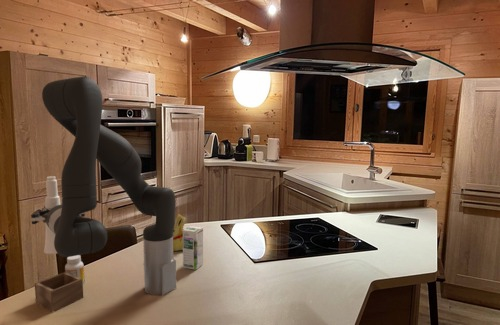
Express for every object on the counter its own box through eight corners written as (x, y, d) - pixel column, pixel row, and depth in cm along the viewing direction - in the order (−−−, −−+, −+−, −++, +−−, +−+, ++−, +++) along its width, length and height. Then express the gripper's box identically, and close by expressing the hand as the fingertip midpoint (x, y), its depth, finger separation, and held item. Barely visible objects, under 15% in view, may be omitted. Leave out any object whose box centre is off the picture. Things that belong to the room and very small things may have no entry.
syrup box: (182, 268, 130) (181, 229, 128) (190, 261, 135) (190, 225, 133) (196, 270, 128) (195, 231, 126) (203, 264, 133) (203, 227, 132)
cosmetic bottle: (45, 256, 100) (40, 179, 97) (42, 249, 105) (37, 176, 102) (69, 251, 103) (64, 177, 101) (65, 245, 108) (61, 174, 106)
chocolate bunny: (164, 249, 148) (163, 214, 146) (190, 245, 152) (189, 211, 150) (168, 255, 142) (167, 219, 140) (194, 251, 146) (194, 215, 144)
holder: (83, 297, 108) (82, 279, 107) (53, 311, 100) (52, 291, 99) (65, 289, 113) (64, 271, 112) (35, 302, 105) (34, 283, 104)
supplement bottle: (79, 280, 119) (78, 252, 118) (87, 285, 116) (86, 256, 115) (63, 285, 115) (61, 257, 114) (70, 291, 112) (69, 261, 111)
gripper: (93, 203, 96) (77, 193, 109) (32, 211, 87) (23, 199, 100) (94, 230, 96) (78, 216, 110) (34, 241, 88) (25, 225, 101)
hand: (52, 208), depth 105 cm, fingers closed on cosmetic bottle, 3 cm apart
